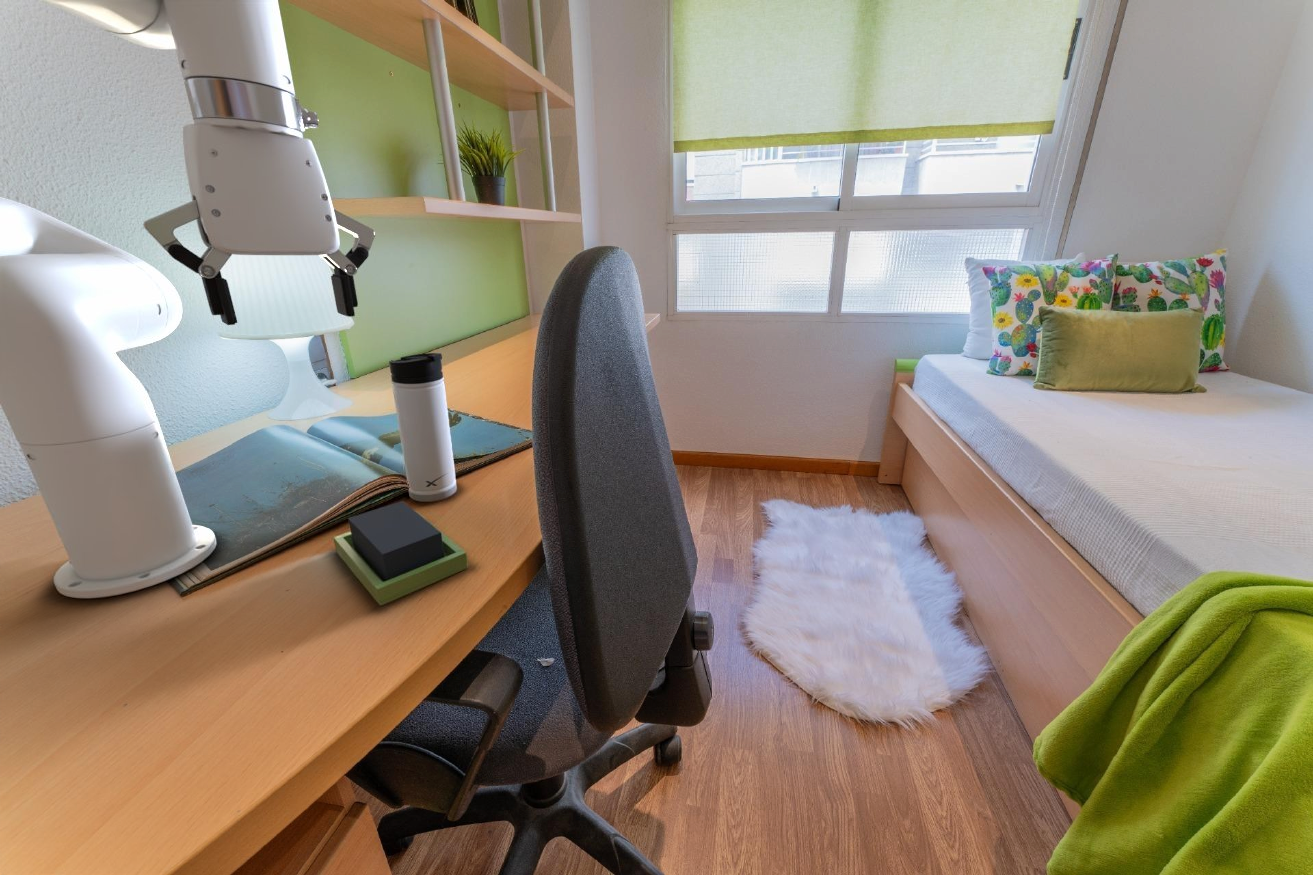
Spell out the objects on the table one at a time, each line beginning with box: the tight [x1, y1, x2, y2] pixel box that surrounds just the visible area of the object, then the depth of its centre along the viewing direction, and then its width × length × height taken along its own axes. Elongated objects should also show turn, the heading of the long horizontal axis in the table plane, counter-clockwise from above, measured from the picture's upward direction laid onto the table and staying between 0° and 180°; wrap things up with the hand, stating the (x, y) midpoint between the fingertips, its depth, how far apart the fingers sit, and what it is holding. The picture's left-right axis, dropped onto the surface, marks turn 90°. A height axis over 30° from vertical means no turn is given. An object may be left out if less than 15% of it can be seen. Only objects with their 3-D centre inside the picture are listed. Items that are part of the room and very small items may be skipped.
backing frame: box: [332, 509, 469, 607], centre depth 58 cm, size 13×9×2 cm
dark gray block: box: [347, 500, 444, 582], centre depth 57 cm, size 10×6×4 cm, turn 46°
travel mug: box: [388, 352, 458, 503], centre depth 70 cm, size 6×7×20 cm
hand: (291, 318), depth 50 cm, fingers open, 9 cm apart
